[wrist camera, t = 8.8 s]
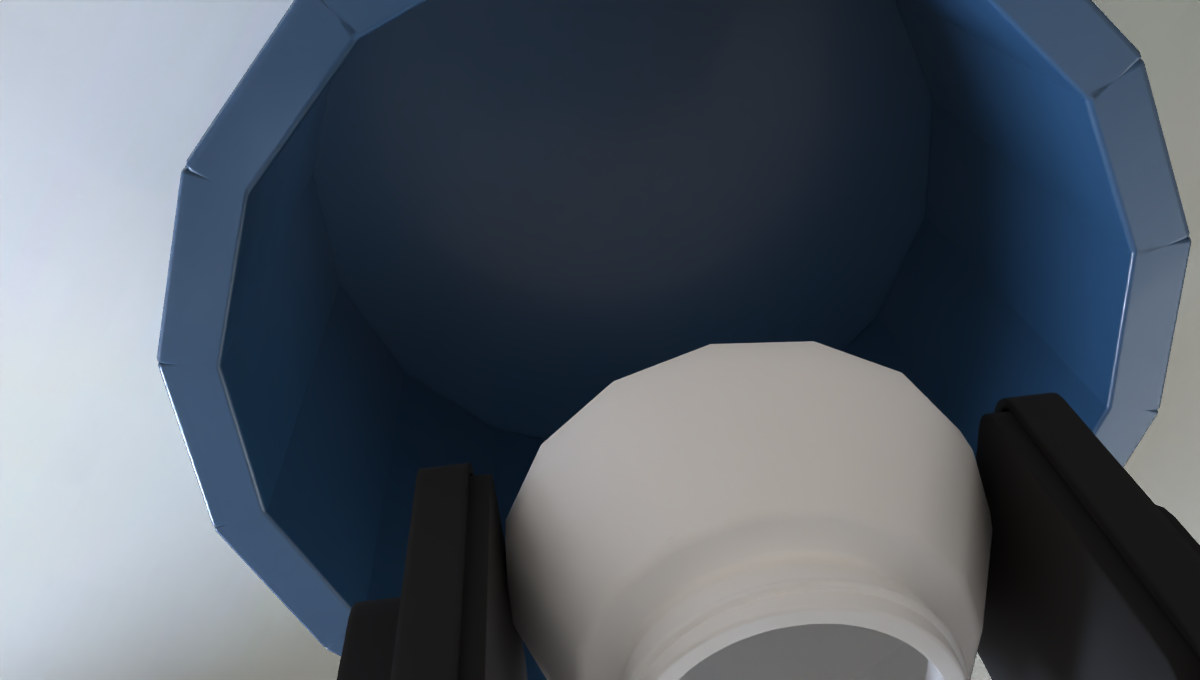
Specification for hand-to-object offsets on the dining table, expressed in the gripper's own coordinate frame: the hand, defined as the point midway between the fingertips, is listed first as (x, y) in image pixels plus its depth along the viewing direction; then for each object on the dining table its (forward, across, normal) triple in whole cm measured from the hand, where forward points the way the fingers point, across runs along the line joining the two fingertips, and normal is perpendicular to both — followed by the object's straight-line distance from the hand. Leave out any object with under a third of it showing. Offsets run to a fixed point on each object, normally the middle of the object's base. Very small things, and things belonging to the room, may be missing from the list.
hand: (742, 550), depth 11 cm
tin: (+12, 0, 0) cm, 12 cm away
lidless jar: (+1, 0, 0) cm, 1 cm away
